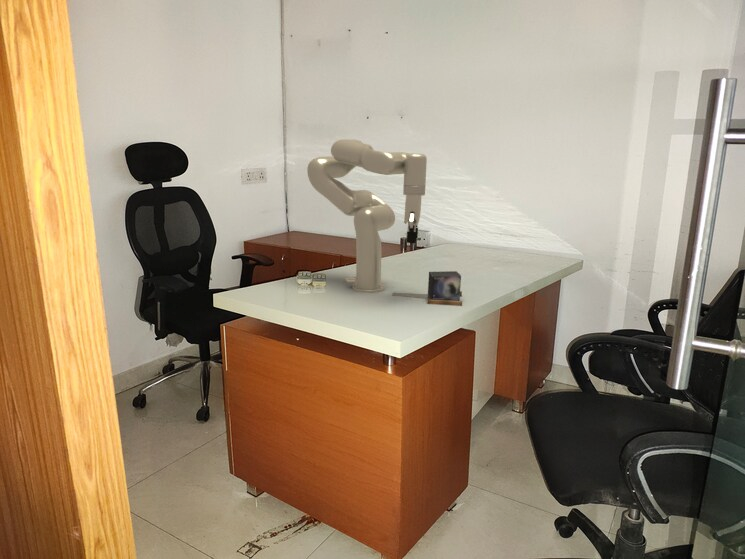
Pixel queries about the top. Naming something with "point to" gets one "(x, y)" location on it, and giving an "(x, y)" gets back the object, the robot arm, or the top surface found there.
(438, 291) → the small box
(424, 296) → the rubber mat
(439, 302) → the brown open frame
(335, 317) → the top surface
